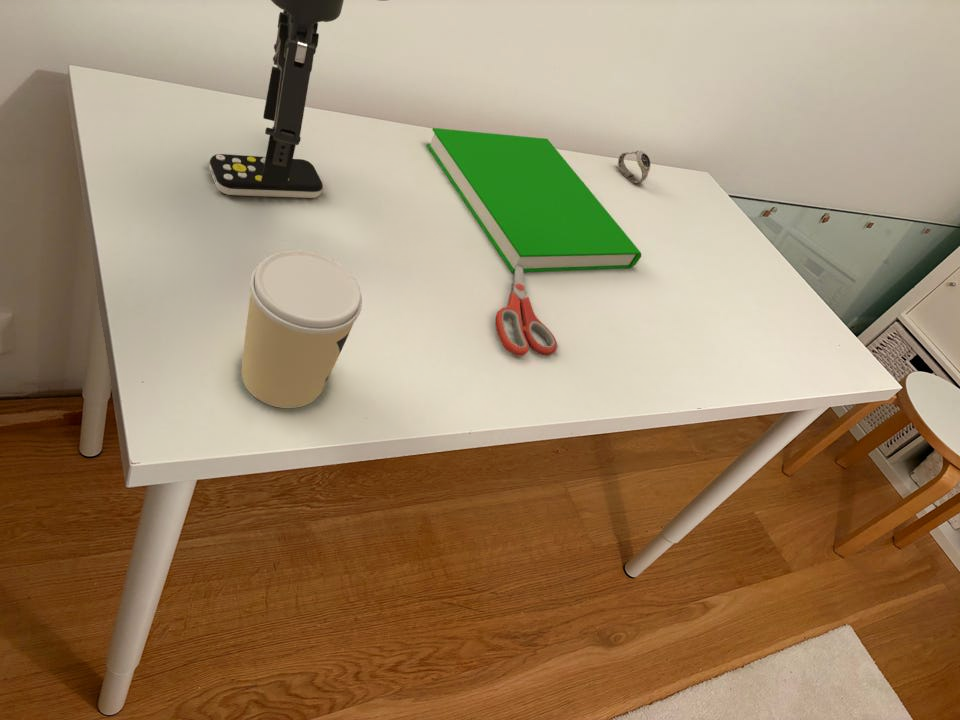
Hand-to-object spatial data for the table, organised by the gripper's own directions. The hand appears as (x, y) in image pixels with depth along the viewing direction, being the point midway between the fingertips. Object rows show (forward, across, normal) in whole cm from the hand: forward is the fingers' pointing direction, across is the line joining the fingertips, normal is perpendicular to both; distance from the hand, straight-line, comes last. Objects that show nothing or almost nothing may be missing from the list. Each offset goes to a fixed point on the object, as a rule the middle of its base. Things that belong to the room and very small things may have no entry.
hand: (274, 150), depth 85 cm
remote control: (+5, 0, 0) cm, 5 cm away
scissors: (+5, -14, -30) cm, 33 cm away
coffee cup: (+5, -31, -2) cm, 32 cm away
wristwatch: (+5, +25, -62) cm, 67 cm away
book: (+5, +8, -38) cm, 39 cm away
